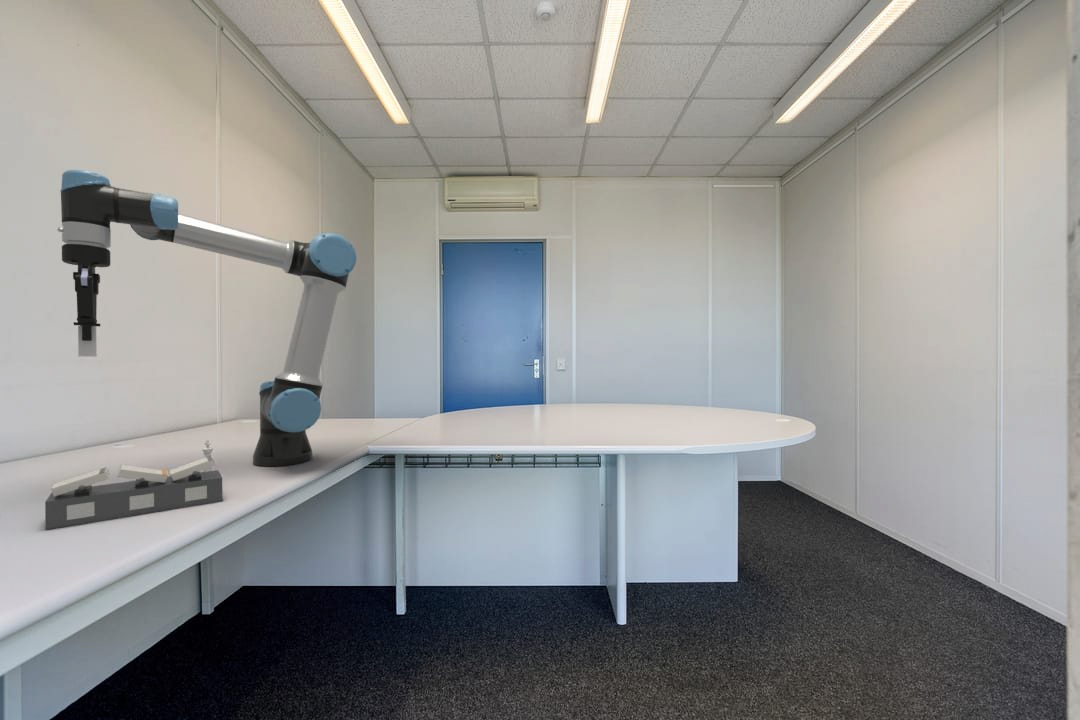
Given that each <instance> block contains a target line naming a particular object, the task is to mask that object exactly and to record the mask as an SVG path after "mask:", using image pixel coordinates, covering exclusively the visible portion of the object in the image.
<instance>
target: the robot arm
mask: <svg viewBox="0 0 1080 720" xmlns="http://www.w3.org/2000/svg"><path fill="white" fill-rule="evenodd" d="M60 188H61V189H60V191H59V192H60V206H61V226H62V227H58V228H57V232H59V233H61V241H62V242H63V243H64V244H63V245H61V261H62V262H63V263H64V264H67V265H72V266H73V265H74V266H77V271H72V278H73V280H74V292H76V311H77V314H76V315H77V316H76V317H77V318H76V321H77V322H76V321H75V322H73V326H77V327H78V328H77V329H78V332H77V333H78V334H77V335H78V336H77V338H78V339H77V343H78V345H77V347H78V349H77V350H78V357H97V354H98V353H97V327H101V323H98V318H97V309H98V308H97V307H98V306H97V305H98V304H97V303H98V302H97V300H98V297H97V296H98V295H99V294H100V293H99V291H100V290H99V287H100V286H99V285H100V283H101V275H100V274H99V273H96V268H109V267H111V251H110V250H109V248H111V244H112V242H111V241H112V240H111V236H112V235H111V232H112V231H111V222H112V223H116V224H124V225H130V227H131V229H132V230H133V231H134V232H135V234H136V235H138V236H139V237H140V238H143V239H145V240H147V241H163V242H166V243H167V242H169V243H173V244H177V245H182V246H186V247H191V248H193V249H194V248H195V249H199V250H203V251H207V252H212V253H216V254H220V255H225V256H229V257H233V258H237V259H241V260H246V261H250V262H255V263H258V264H262V265H267V266H271V267H275V268H279V269H281V270H283V272H284V273H286V274H289V275H294V276H297V277H299V279H300V280H301V281H302V283H303V285H304V286H303V288H302V289H303V290H302V294H301V298H300V302H299V306H298V309H297V310H298V311H297V315H296V317H295V323H294V327H293V330H292V334H291V337H290V338H291V339H290V343H289V347H288V351H287V355H286V359H285V362H284V367H283V370H282V372H281V373H279V374H277V375H276V376H275V377H274V380H271V381H264V382H262V383H261V384H260V388H259V392H258V393H259V394H258V395H259V409H260V412H259V421H260V422H259V438H258V441H257V443H256V446H255V449H254V452H253V455H252V464H254V466H259V467H260V466H261V467H280V466H281V467H283V466H290V465H296V464H302V463H306V462H308V461H309V462H310V461H311V460H312V459H313V449H312V445H311V444H310V440H309V437H308V435H307V431H306V430H308V429H310V428H311V427H312V426H314V425H315V424H316V423H317V422H318V420H319V418H320V416H321V412H322V404H321V400H320V399H321V394H322V389H323V385H324V384H323V383H322V382H321V381H320V378H319V376H320V371H321V367H322V363H323V359H324V355H325V350H326V348H327V347H326V345H327V343H328V342H327V341H328V337H329V334H330V330H331V329H330V328H331V325H332V322H333V321H332V320H333V317H334V313H335V309H336V308H335V307H336V304H337V300H338V296H339V294H340V293H341V292H343V291H345V290H346V288H347V284H348V279H349V276H350V273H352V271H353V270H354V268H355V266H356V263H357V252H356V250H355V248H354V246H353V244H352V243H351V242H350V241H349V239H347V238H346V237H344V236H342V235H340V234H337V233H331V232H329V233H328V232H327V233H323V234H319V235H317V236H315V237H314V238H313V239H312V240H311V241H310V242H301V241H297V240H294V239H292V240H289V241H283V240H280V239H277V238H276V239H275V238H273V237H272V238H271V237H267V236H264V235H260V234H256V233H253V232H249V231H245V230H242V229H239V228H238V229H237V228H234V227H229V226H226V225H223V224H218V223H215V222H210V221H207V220H203V219H200V218H196V217H192V216H188V215H185V214H181V213H179V202H178V199H176V198H175V197H172V196H168V195H162V194H160V193H152V192H144V191H138V190H131V189H125V188H120V187H119V188H118V187H115V186H111V183H110V180H109V178H108V177H107V176H104V175H103V174H100V173H97V172H92V171H89V170H84V169H83V170H82V169H68V170H65V171H63V173H62V175H61V187H60Z"/></svg>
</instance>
